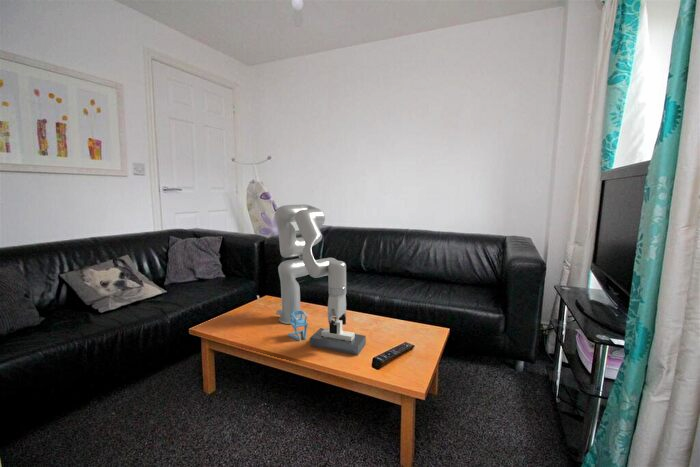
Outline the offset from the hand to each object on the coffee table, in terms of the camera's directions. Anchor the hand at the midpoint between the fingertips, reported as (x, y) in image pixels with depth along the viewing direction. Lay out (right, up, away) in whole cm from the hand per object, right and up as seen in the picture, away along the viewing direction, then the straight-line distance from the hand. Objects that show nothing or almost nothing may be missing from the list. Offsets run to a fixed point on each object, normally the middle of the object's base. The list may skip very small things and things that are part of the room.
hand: (337, 328), depth 138 cm
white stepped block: (0, -7, +1) cm, 7 cm away
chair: (-18, -7, +9) cm, 22 cm away
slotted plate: (0, -8, +1) cm, 8 cm away
